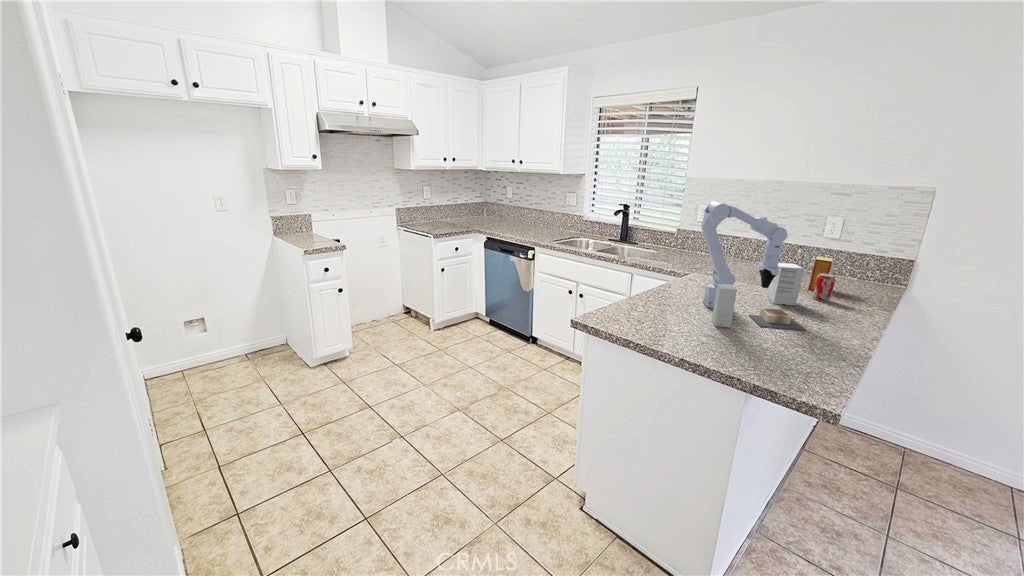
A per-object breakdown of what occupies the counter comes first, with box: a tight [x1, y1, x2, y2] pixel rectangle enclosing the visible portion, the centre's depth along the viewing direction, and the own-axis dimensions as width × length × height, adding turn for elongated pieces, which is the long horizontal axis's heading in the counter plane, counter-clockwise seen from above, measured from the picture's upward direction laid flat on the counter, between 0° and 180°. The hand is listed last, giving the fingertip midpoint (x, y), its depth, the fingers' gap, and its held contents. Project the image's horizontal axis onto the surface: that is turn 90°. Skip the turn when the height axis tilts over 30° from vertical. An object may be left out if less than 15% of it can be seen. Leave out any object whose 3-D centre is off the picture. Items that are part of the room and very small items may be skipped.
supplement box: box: [765, 262, 805, 306], centre depth 190 cm, size 10×9×17 cm
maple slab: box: [758, 307, 792, 324], centre depth 169 cm, size 8×3×8 cm
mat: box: [748, 314, 807, 332], centre depth 167 cm, size 16×12×1 cm
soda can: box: [811, 273, 836, 303], centre depth 196 cm, size 7×7×12 cm
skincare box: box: [711, 284, 738, 329], centre depth 162 cm, size 8×6×15 cm
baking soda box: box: [807, 255, 833, 292], centre depth 212 cm, size 10×6×16 cm
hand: (764, 287), depth 180 cm, fingers closed
